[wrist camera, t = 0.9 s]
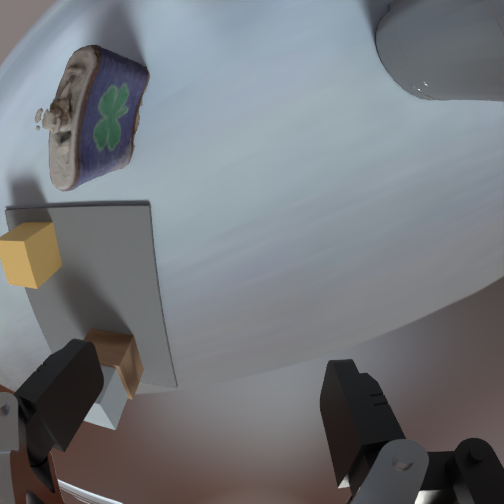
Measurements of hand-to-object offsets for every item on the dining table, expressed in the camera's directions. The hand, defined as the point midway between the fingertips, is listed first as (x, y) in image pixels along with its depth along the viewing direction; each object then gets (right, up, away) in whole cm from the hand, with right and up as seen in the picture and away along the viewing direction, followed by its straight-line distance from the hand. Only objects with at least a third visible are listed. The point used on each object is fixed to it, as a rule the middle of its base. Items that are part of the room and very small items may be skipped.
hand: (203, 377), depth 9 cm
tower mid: (-15, -10, +18) cm, 25 cm away
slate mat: (-18, -2, +20) cm, 27 cm away
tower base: (-15, -8, +22) cm, 28 cm away
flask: (-9, +16, +12) cm, 21 cm away
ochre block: (-21, +5, +16) cm, 27 cm away
